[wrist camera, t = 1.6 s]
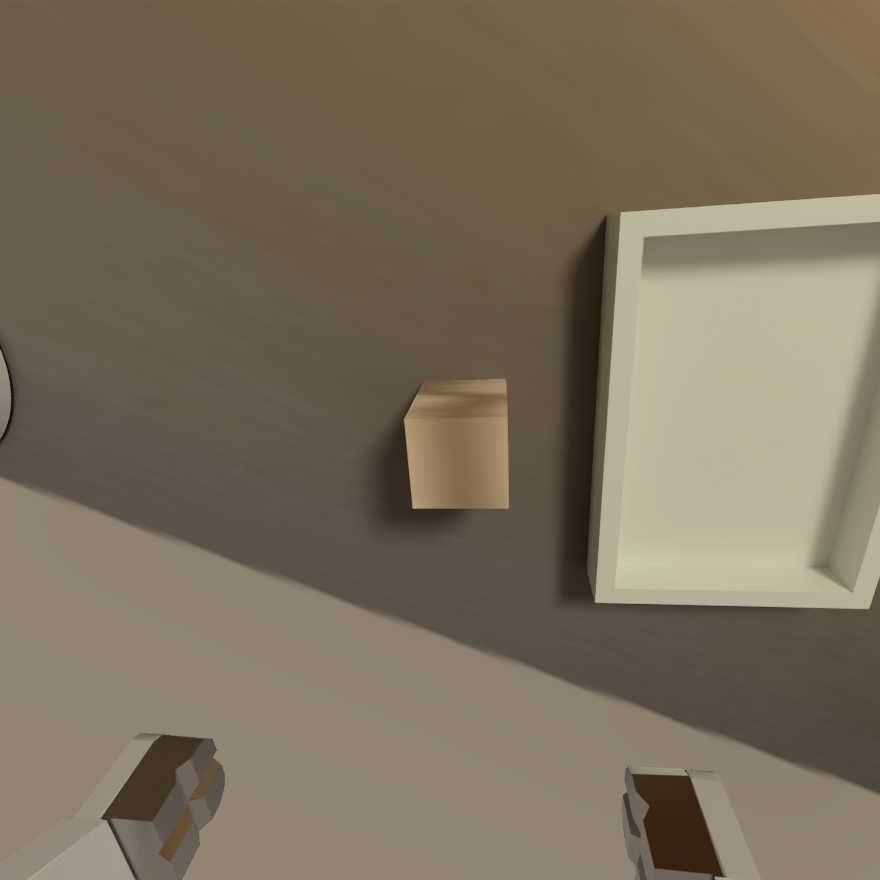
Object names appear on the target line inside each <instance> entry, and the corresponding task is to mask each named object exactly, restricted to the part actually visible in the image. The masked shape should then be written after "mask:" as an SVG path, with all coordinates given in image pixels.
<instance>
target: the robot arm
mask: <svg viewBox="0 0 880 880" xmlns="http://www.w3.org/2000/svg"><path fill="white" fill-rule="evenodd" d="M10 409H11V389H10V381H9V376H8V371H7V367H6V364H5V361H4V358H3V355H2V352H1V350H0V438H1V437H2V435H3V433H4V431H5V429H6V426H7V424H8V420H9V416H10ZM216 751H217V749H216V747H215V744H214V742H213V739H208V738H196V737H184V736H183V737H182V736H170V735H163V734H148V733H147V734H146V733H140V734H139V735H137V736H136V737H135V738H133V739H132V740H131V741H130V742H129V743H128V745H127V746H126V748H125V749H124V750H123V752H122V753H121V754H120V756H119V757H118V758H117V760H116V761H115V762H114V764H113V765H112V766H111V768H110V769H109V770H108V772H107V773H106V775H105V776H104V777H103V778H102V780H101V781H100V783H99V784H98V785H97V787H96V788H95V789H94V791H93V792H92V793H91V795H90V796H89V797H88V799H87V800H86V802H85V803H84V804H83V805H82V807H81V808H80V809H79V811H78V812H77V814H76V815H75V816H67V817H66V818H64V819H63V820H61V821H60V822H58V823H57V824H55V825H54V826H53V827H52V828H50V829H48V830H47V831H46V832H44V833H43V834H42V835H40V836H39V837H37V838H36V839H34V840H33V841H32V842H30V843H29V844H27V845H26V846H25V847H23V848H22V849H21V850H19V851H18V852H16V853H15V854H13V855H12V856H11V857H9V858H8V859H6V860H5V861H4V862H2V863H1V864H0V880H182V879H183V877H184V875H185V873H186V871H187V869H188V867H189V865H190V863H191V861H192V859H193V857H194V855H195V853H196V850H197V849H198V847H199V845H200V839H199V830H200V829H202V827H204V826H205V825H206V824H207V823H208V822H210V821H211V820H212V819H213V817H214V815H215V813H216V811H217V808H218V806H219V804H220V802H221V798H222V793H223V790H224V786H225V774H224V771H223V767H222V765H221V764H220V763H219V762H218V761H216V760H215V759H214V758H213V756H214V754H215V752H216ZM625 783H626V788H627V793H625V794H624V795H623V801H622V818H623V830H624V837H625V842H626V848H627V853H628V857H629V858H630V860H631V861H632V862H633V863H634V865H635V866H636V876H635V880H761V878H760V875H759V873H758V871H757V868H756V866H755V863H754V861H753V858H752V856H751V853H750V851H749V848H748V846H747V843H746V841H745V838H744V836H743V833H742V831H741V828H740V826H739V823H738V821H737V818H736V816H735V813H734V811H733V809H732V806H731V803H730V801H729V799H728V796H727V794H726V791H725V789H724V786H723V784H722V781H721V779H720V778H719V776H718V775H717V774H716V773H715V772H712V771H693V770H683V769H675V768H654V767H633V766H628V767H627V768H626V771H625Z"/></svg>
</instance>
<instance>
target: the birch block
mask: <svg viewBox="0 0 880 880" xmlns="http://www.w3.org/2000/svg"><path fill="white" fill-rule="evenodd" d="M404 423H405V433H406V444H407V454H408V464H409V475H410V485H411V496H412V506H413V509H509V487H508V415H507V391H506V379H491V380H460V381H428V382H423V383H422V385H421V387H420V389H419V391H418V393H417V395H416V397H415V399H414V401H413V403H412V405H411V407H410V409H409V411H408V412H407V414H406V416H405V418H404Z"/></svg>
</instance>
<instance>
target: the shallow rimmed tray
mask: <svg viewBox="0 0 880 880" xmlns="http://www.w3.org/2000/svg"><path fill="white" fill-rule="evenodd" d="M587 573H588V577H589V581H590V585H591V589H592V593H593V597H594V601H595V603H631V604H675V605H720V606H764V607H809V608H853V609H869V608H870V605H871V601H872V598H873V595H874V592H875V589H876V586H877V583H878V580H879V577H880V194H874V195H860V196H846V197H832V198H818V199H804V200H790V201H776V202H762V203H747V204H733V205H719V206H705V207H691V208H677V209H663V210H649V211H635V212H621V213H614V214H608V215H606V233H605V251H604V268H603V286H602V304H601V322H600V339H599V357H598V375H597V393H596V410H595V428H594V446H593V464H592V481H591V499H590V517H589V535H588V553H587Z"/></svg>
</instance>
